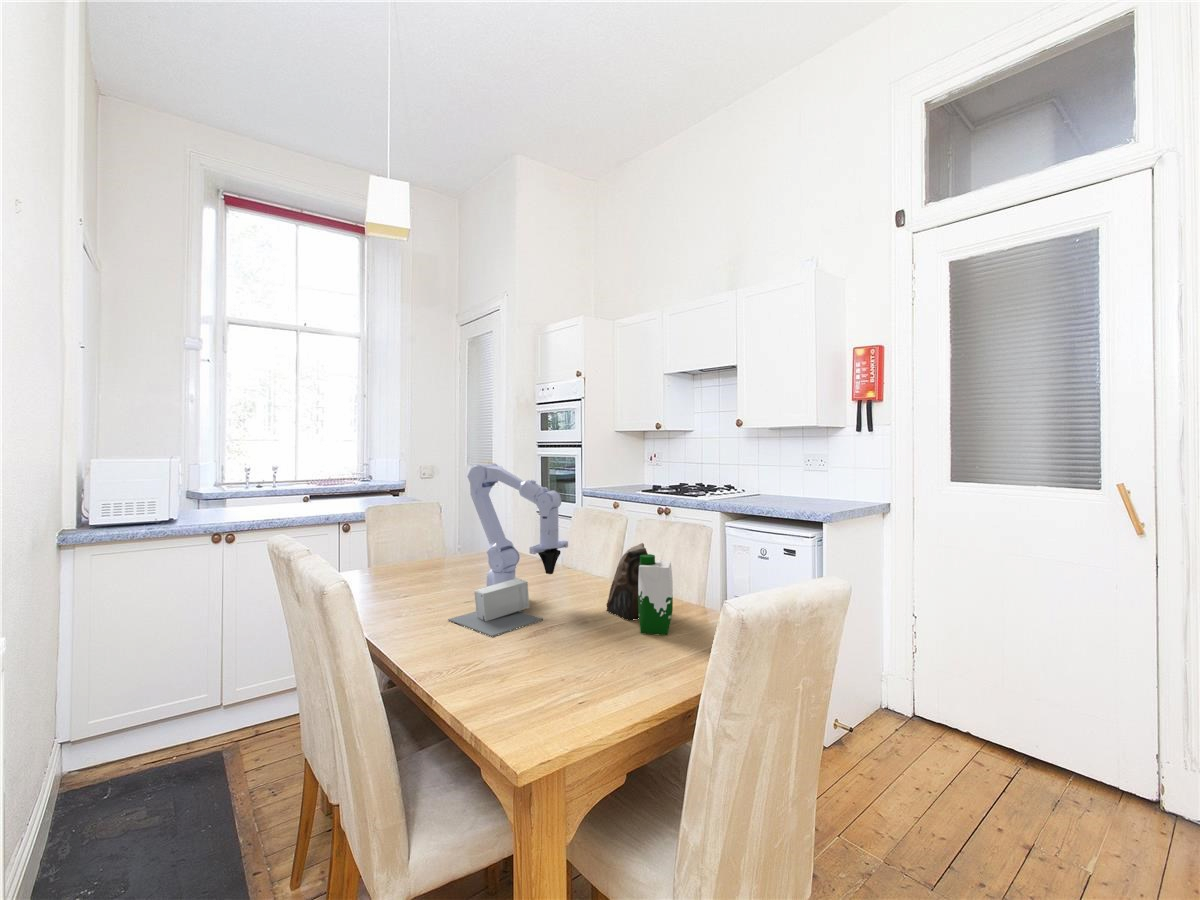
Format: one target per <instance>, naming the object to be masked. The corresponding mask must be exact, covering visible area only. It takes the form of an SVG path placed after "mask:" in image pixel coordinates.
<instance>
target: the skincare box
mask: <svg viewBox="0 0 1200 900" xmlns="http://www.w3.org/2000/svg"><path fill="white" fill-rule="evenodd" d="M528 584H529V583H528V581H527V580H525V579H522V578H519V577H518V578H517V577H515V579H513V580H509V581H506V582H502V583H499V584H495V585H492V586H488V587H487V586H485V587H482V588H479V589H475V590H473V591H474V593H473V594H474V602H475V611H476V616H477V617H478V618H480V619H482V620H484V621H490V620H493V619H496V618H499V617H502V616H505V615H508V614H511V613H514V612H517V611H520V612H521V611H523V610H526V609H529V608H530V600H529V599H530V597H529V596H530V595H529V585H528Z"/></svg>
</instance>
